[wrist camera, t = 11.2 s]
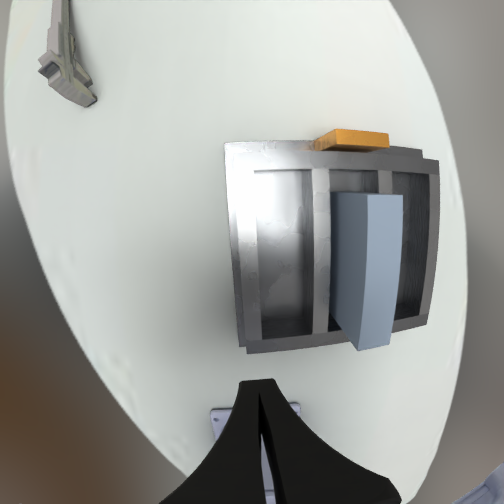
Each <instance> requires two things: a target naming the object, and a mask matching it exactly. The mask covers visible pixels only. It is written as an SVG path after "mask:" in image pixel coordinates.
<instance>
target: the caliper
mask: <svg viewBox="0 0 504 504" xmlns="http://www.w3.org/2000/svg"><path fill="white" fill-rule="evenodd" d="M74 41H75V39H74V37H73V36H72V35H71V33H70V30H69V0H53V4H52V16H51V27H50V28H49V29H48V35H47V52H46V53H45V54H44V55H42V56H41V57H40V58H39V59H38V61H39V62H40V64H41V65H42V67H41V68H40V69H39V70H38V72H39V73H41V74H42V75H43V76H45V77H46V78H47V79H48V85H49V86H50V87H52V88H53V89H54V90H55V91H57V92H58V93H59V94H61V95H62V96H63V97H64V98H66V99H68V100H70V101H72V102H74V103H76V104H78V105H81V106H83V107H87V106H88V105H90V104H91V103H93V102H94V101H95V100H96V99H97V96H95V95H94V94H93V93H92V92H91V91H90V90H89V89H88V87H89V86H90V85H92V84H93V83H92V80H91V78H90V77H89V76H88V75H87V73H86V72H85V71H84V70H83V68H82V67H81V66H80V65H79V63H78V62H77V61H76V60H75V58H74V54H73V53H74V52H75V45H74Z"/></svg>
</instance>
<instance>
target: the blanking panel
mask: <svg viewBox="0 0 504 504" xmlns="http://www.w3.org/2000/svg"><path fill="white" fill-rule="evenodd" d="M330 219H331V260H330V295H329V312H330V314H331V315H332V316H333V318H334V319H335V320H336V322H337V323H338V325H339V326H340V327H341V329H342V330H343V331H344V333H345V334H346V336H347V337H348V338H349V340H350V341H351V343H352V344H353V345H354V347H355V348H356V350H357V351H361V350H366V349H371V348H375V347H380V346H384V345H389V343H390V337H391V332H392V326H393V320H394V314H395V307H396V300H397V292H398V283H399V274H400V262H401V248H402V227H403V195H395V194H382V193H369V192H330Z"/></svg>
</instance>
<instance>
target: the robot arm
mask: <svg viewBox="0 0 504 504" xmlns="http://www.w3.org/2000/svg"><path fill="white" fill-rule="evenodd" d="M300 409H301V408H300V405H299V404H289V403H288V402H287V400H286V399H285V397H284V396H283V394H282V393H281V391H280V389H279V387H278V385H277V383H276V381H275V380H274V379H273V378H271V379H260V380H248V381H241V382H240V383H239V389H238V393H237V397H236V400H235V403H234V406H233V409H229V410H212V411H211V412H210V418H211V422H212V426H213V430H214V434H215V438H216V443H215V444H214V446H213V447H212V449H211V450H210V452H209V453H208V455H207V456H206V457H205V459H204V460H203V461H202V463H201V464H200V465H199V466H198V467H197V469H196V470H195V471H194V472H193V473H192V474H191V475H190V476H189V477H188V478H187V479H186V480H185V481H184V482H183V483H182V484H181V485H180V486H179V487H178V488H177V489H176V490H175V491H173V493H171V494H170V495H168V496H167V497H166V498H165V499H164V500H162V501H161V502H160V503H159V504H400V503H401V501H402V500H401V497H400V495H399V493H398V491H397V489H396V488H395V487H394V485H393V484H392V483H391V481H390V480H389V479H388V478H386V477H383V476H381V475H378V474H376V473H374V472H372V471H370V470H367V469H365V468H363V467H362V466H360V465H358V464H356V463H354V462H352V461H351V460H349V459H348V458H346V457H345V456H343V455H342V454H340V453H339V452H337V451H336V450H334V449H333V448H332V447H330V446H329V445H328V444H327V443H325V442H324V441H323V440H322V439H321V438H319V437H318V436H317V435H316V434H315V433H314V432H313V431H312V430H311V429H310V428H309V427H308V426H307V425H306V424H305V423H304V422H303V421H302V419H301V418H300ZM295 411H296V412H295ZM451 504H504V462H503V463H502V464H500V465H499V466H498V467H497V468H496V469H495V470H494V471H493V472H491V473H490V475H489V476H488V477H487V478H486V479H485V481H483V482H482V483H481V484H479V485H478V486H477V487H475V488H474V489H472V490H471V491H470V492H468V493H467V494H465V495H464V496H462V497H461V498H459V499H458V500H456V501H454V502H453V503H451Z"/></svg>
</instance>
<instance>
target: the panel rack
mask: <svg viewBox="0 0 504 504" xmlns="http://www.w3.org/2000/svg"><path fill="white" fill-rule="evenodd" d="M224 145H225V163H226V180H227V196H228V211H229V226H230V240H231V254H232V267H233V279H234V291H235V303H236V315H237V326H238V337H239V347H245V346H246V349H247V354H255V353H266V352H277V351H286V350H295V349H303V348H310V347H318V346H324V345H331V344H337V343H343V342H349V341H350V340H349V338H348V337H347V336H346V334H345V333H344V331H343V330H342V329H341V327H340V326H339V325H338V323H337V322H336V320H335V319H334V318H333V316H332V315H331V314H330V312H329V295H330V260H331V219H330V192H369V193H382V194H395V195H403V227H402V248H401V262H400V274H399V283H398V292H397V300H396V307H395V314H394V320H393V326H392V332H391V333H394V332H399V331H403V330H407V329H411V328H415V327H419V326H423V325H426V324H427V319H428V314H429V309H430V304H431V298H432V292H433V285H434V278H435V270H436V262H437V251H438V239H439V220H440V176H439V161H438V160H432V159H424V158H423V154H422V150H420V149H413V148H406V147H397V146H389V136H388V134H387V133H378V132H369V131H358V130H345V129H334V130H333V131H331V132H329V133H327V134H325V135H324V136H322V137H320V138H318V139H317V140H315V141H253V142H234V143H224Z"/></svg>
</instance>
